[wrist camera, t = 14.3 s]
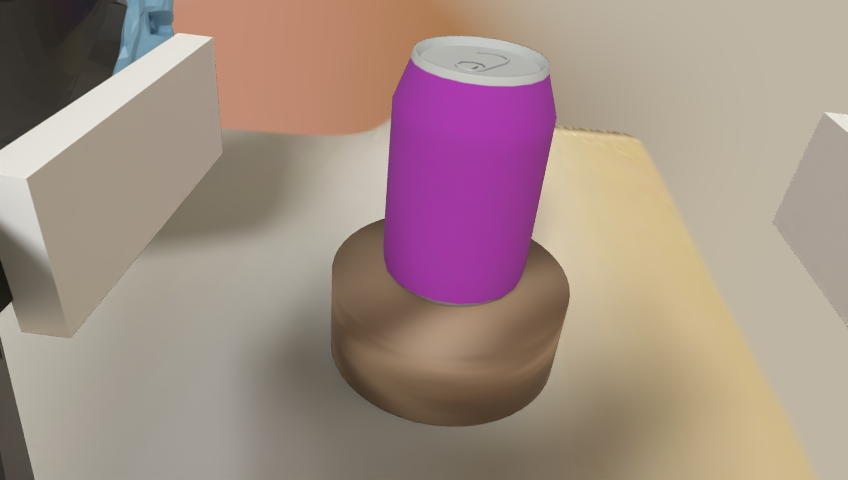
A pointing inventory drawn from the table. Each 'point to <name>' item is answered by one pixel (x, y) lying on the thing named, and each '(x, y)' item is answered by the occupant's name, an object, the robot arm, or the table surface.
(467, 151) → the beverage can
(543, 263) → the walnut pedestal
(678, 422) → the table surface
